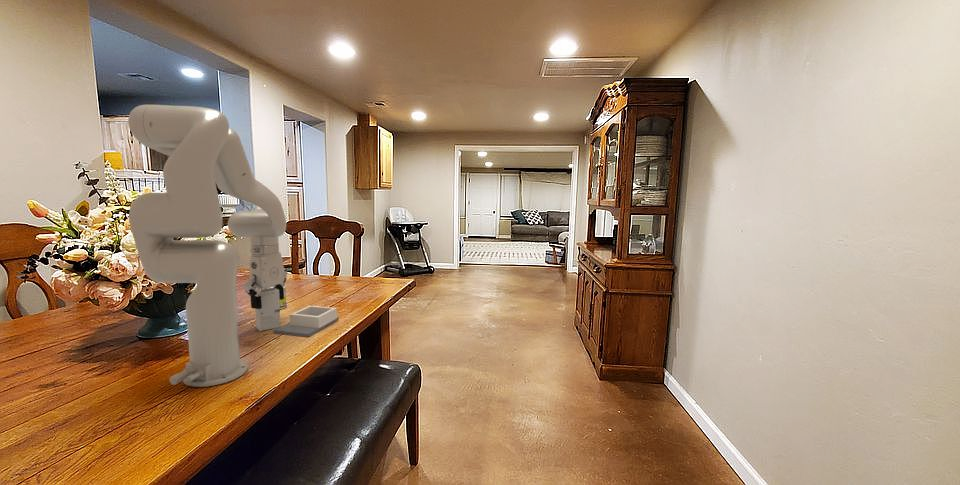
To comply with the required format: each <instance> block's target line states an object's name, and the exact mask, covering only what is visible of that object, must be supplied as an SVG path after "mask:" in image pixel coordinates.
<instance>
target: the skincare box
mask: <svg viewBox="0 0 960 485" xmlns="http://www.w3.org/2000/svg"><path fill="white" fill-rule="evenodd" d="M255 291H257V289H255ZM259 296H261V302H262V308H261V309H254V311H255V328H256V329H257V330H258V331H259V332H261V331H267V330H274V329H277V328H279V327H281V314H280V312H281V309H280V302H279V290H278V289H276V288H267V289H262V290H261V293H260V295H259Z"/></svg>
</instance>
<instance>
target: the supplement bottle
mask: <svg viewBox="0 0 960 485" xmlns="http://www.w3.org/2000/svg"><path fill="white" fill-rule="evenodd" d="M274 287H276V286H272V287H270V288H274ZM286 287H287V286H286V285H285V286H284V287H283V288H284V299H282V300H281V299H279V302H280V310H283V309H286V307H287V288H286Z"/></svg>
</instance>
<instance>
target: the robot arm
mask: <svg viewBox="0 0 960 485" xmlns="http://www.w3.org/2000/svg"><path fill="white" fill-rule="evenodd" d="M128 127H129V130H130V133H131V134H132V135H133V137H134V138H135V139H136V141H138V143H140V144H141V145H142V146H145V147H147V148H149V149H151V150H154V151H156V152H158V153H161V154H163V155H166V156H168V158H167V160H165V161H166V162H165V164H164V166H163V170H162V177H163V181H164V185H165V191H166V192H148V193H144V194H141V195H139V196H137V197H136V198H135V199H134V200H133V201H132V203H131V204H130V207H129V208H130V209H129V212H128V222H129V227H130V230H131V235H132V237H133V240H134V244H135V247H136V250H137V252H138V256H139V259H140V262H141V265H142V266H141V267H142V269H143V271H144V272H145V274H146V276H147V277H148V278H149V279H150V280H152V281H153V282H156V283H162V284H185V283H186V284H196V287H195V289H193V291H192V292H191V294H189V296H188V298H187V300H186V303H185V315H186V324H187V325H186V326H187V342H188V350H189V352H188V353H189V362H185V368H184V369H183V370H182V371H181V372H177V373H176V374H174V375H171V376H170V377H169V382H170V384H171V385H173V386H174V385H178V384H179V383H183V384H184V385H186V386H189V387H193V388H194V387H195V388H205V387H213V386H218V385H222V384H226V383H229V382H231V381H234V380H236V379H238V378H240V377H241V376H243V375H244V374H245V373H246V372H247V370H248V366H249V365H248V362H247V361H245V360H243V359H242V358H240V346H239V330H238V329H239V328H238V325H239V324H238V310H237V278H238V277H237V275H238V271H239V263H240V258H239V257H240V256H239V252H238V250H237V248H236V247H235V246H234V245H232V244H231V243H229V242H226V241H222V240H216V239H215V240H213V239H211V240H210V239H201V240H200V238H210V237H213V236H216V235H218V234H219V233H220V232H221V230H222V228H223V215H222V208H221V202H220V199H219V194H218V190H219V191H221V192H222V193H223V194H226V195H228V196H230V197H233V198H235V199H238V200H241V201H245V202H247V203H249V204H253V205H254V206H256V207H258V209H252V210H239V211H235V212H233V213H232V214H231V215H230V217H229V218H228V221H227V228H228V231H229V232H230V233H231V234H232V235H233V236H235V237H239V238H249V239H250V240H249V241H250V250H249V251H250V254H251V255H250V258H249V270H248V271H249V273H248V274H249V278H248V279H247V280H246V281H245V282H244V283H243V288H244V290H245V292H246V293H247V294H248V296H249V297H250V308H251V309H253V310H255V309H261V308H262V302H261V296H259V295H260V293H261V290H262V289H268V288H270V287H272V286H276V287H274V288H276V289H278V290H279V299H281V300H282V299H284V288H283V287H284V286H286V285H285V283H286V280H287V275H288V271H286V270H285V267H284V261H283V257H282V254H281V252H280V246H279V237H281V236H283V235H284V234H285V233H286V231H287V219H286V214H285V212H284V208H283V206H282V202H281V200H280V199H279V197H278V196H277V195H276V194H275V193H274V192H273V191H272V190H271V189H270V188H268V187H267V186H266V185H264V184H263V183H261V182H260V181H258V180H257V179H256V178H255V176H254V174H253V171H252V168H251V167H250V163H249V160H248V157H247V154H246V151H245V149H244V146H243V143H242V140H241V137H240V136H239V134H238V133H237V132H236V130H235V129H233V128H231V127H230V125H229V120H228V117H226V115H225V114H224V113H223V112H222V111H219V110H217V109H215V108H214V109H213V108H209V107H203V106H202V107H201V106H193V105H191V106H189V105H167V104H164V105H163V104H141V105H138V106H135V107H134V108H133V109H132V110H131V111H130V112H129V115H128ZM217 189H218V190H217ZM197 238H198V239H197ZM176 239H177V240H176ZM179 239H183V240H179ZM184 239H190V240H184ZM191 239H192V240H191ZM255 290H257V291H255Z"/></svg>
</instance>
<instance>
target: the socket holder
mask: <svg viewBox="0 0 960 485" xmlns="http://www.w3.org/2000/svg"><path fill="white" fill-rule="evenodd" d="M339 319H340V318H339V316H338V308H337V307H329V306H319V305H308V306H306V307H304V308H301V309H299V310H296V311H294V312H292V313H290V314H289V322H288V323H285V324H283V325H280V327H278V328H274V329H272V331H273V334H277V335H283V336H285V335H286V336H295V337H303V338H310V337H312V336H314V335H315V334H317V333H319V332H320V331H322V330H324V329H326V328H328V327H330V326H331V325H333V324H335V323H337V322H338V321H339Z"/></svg>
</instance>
